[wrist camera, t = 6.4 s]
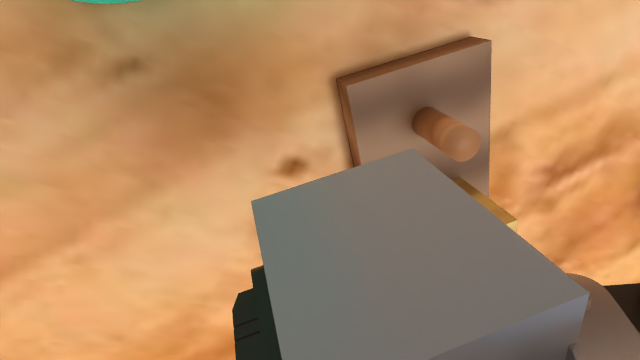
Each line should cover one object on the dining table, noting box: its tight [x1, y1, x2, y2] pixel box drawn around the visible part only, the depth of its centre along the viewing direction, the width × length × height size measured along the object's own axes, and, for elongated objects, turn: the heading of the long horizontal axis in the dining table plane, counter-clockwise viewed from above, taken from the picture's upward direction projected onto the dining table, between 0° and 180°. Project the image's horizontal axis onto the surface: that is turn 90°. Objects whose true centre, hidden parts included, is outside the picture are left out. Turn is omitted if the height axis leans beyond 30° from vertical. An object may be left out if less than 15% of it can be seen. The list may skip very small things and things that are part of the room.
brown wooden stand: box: [336, 37, 518, 233], centre depth 25 cm, size 16×10×8 cm, turn 13°
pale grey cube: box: [251, 148, 590, 360], centre depth 9 cm, size 5×5×6 cm
